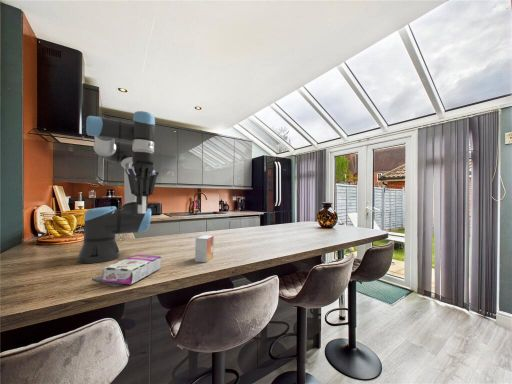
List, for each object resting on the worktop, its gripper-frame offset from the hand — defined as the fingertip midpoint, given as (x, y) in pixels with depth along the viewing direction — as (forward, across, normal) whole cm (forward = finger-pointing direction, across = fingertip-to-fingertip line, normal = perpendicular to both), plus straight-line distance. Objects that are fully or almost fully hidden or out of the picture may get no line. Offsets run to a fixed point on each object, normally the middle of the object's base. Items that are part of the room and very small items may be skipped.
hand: (141, 213), depth 84 cm
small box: (+23, +24, -12) cm, 35 cm away
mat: (+22, -6, 0) cm, 23 cm away
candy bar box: (+20, +4, 0) cm, 20 cm away
